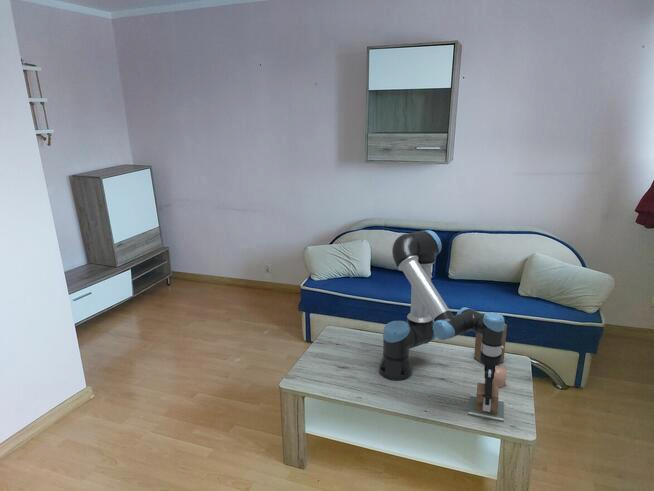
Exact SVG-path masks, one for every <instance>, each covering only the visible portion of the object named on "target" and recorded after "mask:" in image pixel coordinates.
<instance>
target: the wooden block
mask: <svg viewBox="0 0 654 491" xmlns="http://www.w3.org/2000/svg"><path fill="white" fill-rule="evenodd" d="M504 326H505V328H504V334H503V344H502V346H504V349H502V353H501V363H500V364H502V363H504V361H505V353H506V352H505V351H506V350H505V349H506V343H507V342H506V341H507V340H506V338H507V330H508V325H507V324H506V323H505V322H504ZM474 341H475V342H474V357H473V359H474V360H476V361H478V362H480V363H481V364H483V365H485V364H484V363H482V362H481V360H480V355H481V341H482V335H481V334H479V333H477V332H475V340H474Z"/></svg>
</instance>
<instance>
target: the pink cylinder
mask: <svg viewBox="0 0 654 491" xmlns="http://www.w3.org/2000/svg"><path fill="white" fill-rule="evenodd" d="M506 380H507V369H506V368H505V367H504V366H501V365H497V366H495V373H494V379H493V382H492V385H495V386H499V389H502V388H505V386H506Z"/></svg>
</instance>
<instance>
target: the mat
mask: <svg viewBox="0 0 654 491" xmlns="http://www.w3.org/2000/svg"><path fill="white" fill-rule="evenodd" d="M476 395H477V394H470V395H469V402H468V403H469V404H468V413H467V415H468V416H472V417H476V418H482V419H487V420H491V421H495V422H501V423H505V408H504V407H505V404H504V403H505V402H504V400H503V399H498V409H497V415H492V414H487V413H482V412H477V411H475V407H476Z"/></svg>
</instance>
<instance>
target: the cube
mask: <svg viewBox="0 0 654 491" xmlns="http://www.w3.org/2000/svg"><path fill="white" fill-rule="evenodd" d="M484 383H485V382H484ZM484 383H483V382H482V383H481V382H477V385H476V394H475V395H476V407H475V411H477V412H482V413H487V414H492V415H497V409H498V400H499V398H500V397H499V394H500V393H499V389H500V388H499V386H495V385H492V398H491V408H490V412H488V411H483V401H484V397H483V396H482V394H483V395H484V394H485V384H484Z"/></svg>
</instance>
